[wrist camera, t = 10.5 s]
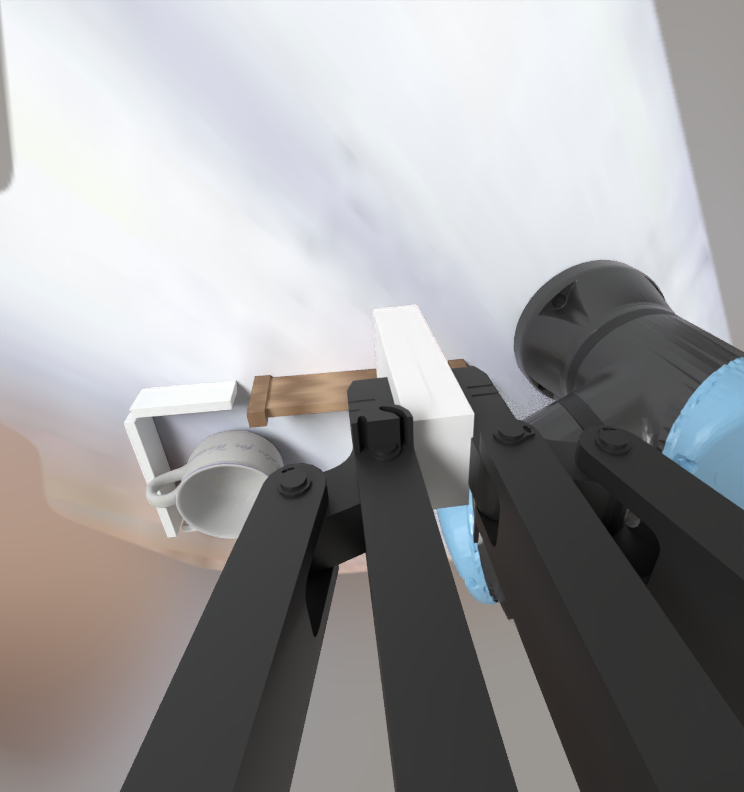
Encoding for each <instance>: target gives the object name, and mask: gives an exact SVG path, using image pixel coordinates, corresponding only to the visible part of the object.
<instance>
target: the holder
mask: <svg viewBox="0 0 744 792" xmlns="http://www.w3.org/2000/svg"><path fill="white" fill-rule="evenodd" d="M237 390H238V387H237V383H236V381H225V382H213V383H201V384H189V385H177V386H165V387H154V388H142V390H141V392H140V393H139V395H138V396H137V398H136V400H135V401H134V403H133V404H132V406H131V408H130V409H129V410H130V414H129V415H128V417H127V419H126V420H125V422H124V426H125V428H126V431H127V433H128V436H129V439H130V441H131V444H132V446H133V449H134V452H135V454H136V457H137V459H138V462H139V464H140V467H141V470H142V472H143V475H144V477H145V480H146V483H147V485H148V484H149V483H150V482H151V481H152V480H153V479H154V478H156V477H157V476H159V475H161V474H164V473H166V472H169V471H171V470H170V467H169V464H168V461H167V458H166V455H165V452H164V449H163V447H162V444H161V441H160V438H159V435H158V432H157V429H156V426H155V423H154V420H153V418H152V416H163V415H174V414H186V413H197V412H208V411H220V410H231V409H232V408H233V404H234V401H235V397H236V394H237ZM176 488H177V487H176V484H175V482H173V483H171V484H168V485H166V486H164V487H163V488H161V489H160V490H159V491H158V492H157V494H158V495H165V494H169V493H171V492H172V491H174V490H175V489H176ZM156 508H157V507H156ZM157 511H158V514H159V516H160V519H161V521H162V524H163V526H164V529H165V532H166V534H167V537H176V536H177V534H178V531H179V528H180V524H181V521H182V518H183V517H182V516H181V515H180V513H179V512H178V509H177V506H176V504H175V505H173V506H170V507H166V508H157ZM182 528H183V531H184V532H191V531H198V530H196V529H194V528H193V527H191V526H190V525H189V524H187V523H186V521H185V520H184V521H183V524H182Z"/></svg>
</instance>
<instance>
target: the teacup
mask: <svg viewBox="0 0 744 792" xmlns="http://www.w3.org/2000/svg"><path fill="white" fill-rule="evenodd" d="M281 467H284V464H283V461H282V458H281V455H280V453H279V452H278V450H277V449H276V448H275V446H274V445H273V444H272V443H271V442H269V441H268V440H267V439H265V438H263V437H262V436H260V435H257V434H254V433H251V432H247V431H240V430H231V431H223V432H219V433H216V434H214V435H211V436H209V437H208V438H206V439H204V440H203V441H202V442H201V443H200V444H199V445H198V446H197V447H196V448H195V449H194V451H193V452H192V454H191V456H190V458H189V460H188V462H187V464H186V465H184V466H183V467H181V468H178V469H175V470H172V471H169V472H166V473H164V474H161V475H159V476H157V477H156V478H154V479H153V480H152V481H151V482H150V483H149V484H148V486H147V488H146V498H147V500H148V502H149V504H150V505H152V506H154V507H157V508H166V507H170V506H173V505H175V504H176V506H177V509H178V512H179V513H180V515H181V516H182V517H183V519H184V520H185V521H186V523H187V524H189V525H190V526H191V527H193V528H194V529H196V530H198V531H200V532H202V533H205V534H207V535H210V536H214V537H219V538H226V539H238V537H239V534H240V532H241V530H242V528H243V526H244V524H245V521H246V519H247V517H248V515H249V513H250V511H251V509H252V506H253V504H254V502H255V500H256V498H257V496H258V494H259V491H260V489H261V487H262V485H263V483H264V482H265V480H266V479H267V478H268V476H269V475H270V474H271V473H273V472H274V471H276V470H277V469H279V468H281ZM179 480H182V481H181V483H180V485H179V486H178V487H177V488H176V489H175V490H174V491H172V492H171V493H169V494H165V495H158V494H157V492H158V491H159V490H160V489H161V488H163V487H164V486H166V485H168V484H171V483H173V482H176V481H179Z"/></svg>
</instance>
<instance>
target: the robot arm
mask: <svg viewBox="0 0 744 792" xmlns="http://www.w3.org/2000/svg"><path fill="white" fill-rule="evenodd" d="M372 311H373V325H374V340H375V355H376V369H377V378H373V379H364V380H355V381H352V383H351V385H350V386H349V388H348V390H347V398H348V407H349V417H350V426H351V435H352V443H353V451H352V453H351V455H350V456H349V457H348V459H347V460H346V461H345V462H343V463H342V464H341V465H339V466H337V467H335V468H333V469H331V470H328V471H325V472H322V471H321V470H320V469H319V468H317V467H315V466H313V465H309V464H304V463H300V464H290V465H287V466H284V467H281V468H279V469H277V470H276V471H274V472H273V473H271V474H270V475H269V476H268V478H267V479H266V480H265V482H264V483H263V485H262V487H261V489H260V491H259V494H258V496H257V498H256V500H255V502H254V504H253V506H252V509H251V511H250V513H249V515H248V517H247V519H246V521H245V524H244V526H243V528H242V530H241V532H240V534H239V537H238V539H237V541H236V543H235V545H234V547H233V549H232V552H231V554H230V556H229V558H228V560H227V562H226V564H225V567H224V569H223V571H222V573H221V575H220V577H219V580H218V582H217V584H216V586H215V588H214V590H213V592H212V595H211V597H210V599H209V601H208V604H207V605H206V608H205V610H204V612H203V614H202V616H201V618H200V620H199V623H198V625H197V627H196V629H195V631H194V633H193V636H192V638H191V640H190V642H189V644H188V646H187V648H186V651H185V653H184V655H183V657H182V659H181V661H180V663H179V666H178V668H177V670H176V672H175V674H174V676H173V678H172V681H171V683H170V685H169V687H168V689H167V691H166V694H165V696H164V698H163V700H162V702H161V704H160V706H159V709H158V711H157V713H156V715H155V717H154V719H153V721H152V724H151V726H150V728H149V730H148V732H147V735H146V737H145V739H144V741H143V743H142V745H141V747H140V749H139V752H138V754H137V756H136V758H135V760H134V763H133V765H132V767H131V769H130V771H129V773H128V775H127V777H126V780H125V782H124V784H123V786H122V788H121V790H120V792H289V791H290V787H291V782H292V778H293V773H294V769H295V764H296V760H297V755H298V751H299V746H300V742H301V737H302V733H303V728H304V724H305V719H306V714H307V710H308V706H309V701H310V697H311V691H312V687H313V683H314V679H315V674H316V669H317V665H318V660H319V656H320V651H321V647H322V642H323V638H324V633H325V629H326V624H327V620H328V615H329V611H330V606H331V602H332V597H333V593H334V588H335V584H336V579H337V575H338V570H339V564H341V563H343V562H345V561H347V560H350V559H352V558H354V557H356V556H359V555H361V554H363V553H366V560H367V569H368V577H369V585H370V593H371V601H372V609H373V617H374V625H375V633H376V641H377V650H378V658H379V666H380V674H381V682H382V690H383V698H384V707H385V715H386V723H387V731H388V739H389V747H390V755H391V763H392V772H393V780H394V787H395V792H518V790H517V787H516V783H515V780H514V777H513V773H512V770H511V767H510V763H509V760H508V757H507V754H506V750H505V747H504V744H503V740H502V737H501V734H500V730H499V727H498V724H497V721H496V717H495V714H494V711H493V707H492V704H491V701H490V697H489V694H488V691H487V688H486V684H485V681H484V677H483V674H482V671H481V668H480V665H479V661H478V658H477V654H476V651H475V648H474V645H473V641H472V638H471V634H470V631H469V628H468V625H467V621H466V618H465V615H464V611H463V608H462V605H461V602H460V598H459V595H458V592H457V588H456V585H455V582H454V578H453V575H452V572H451V569H450V565H449V562H448V558H447V555H446V552H445V549H444V545H443V542H442V539H441V535H440V532H439V529H438V525H437V522H436V519H435V515H434V512H433V509H437V514H438V518H439V522H440V526H441V529H442V533H443V536H444V539H445V542H446V544H447V547H448V550H449V552H450V555H451V557H452V560H453V562H454V564H455V567H456V569H457V571H458V573H459V574H460V576H461V577H462V578H463V579H464V581H465V583H466V586H467V589H468V590H469V592H470V593H471V595H472V596H473V597H474V598H475V599H476V600H477V601H479V602H480V603H482V604H492V605H493V604H495V603H497V602H498V601H499V602H500V604H501V606H502V608H503V610H504V612H505V614H506V616H507V618H508V620H509V622H510V624H513V625H514V626H516V627H517V630H518V632H519V635H520V637H521V640H522V643H523V645H524V648H525V650H526V653H527V655H528V658H529V660H530V663H531V666H532V668H533V671H534V673H535V676H536V679H537V681H538V684H539V686H540V689H541V691H542V694H543V696H544V699H545V702H546V704H547V707H548V709H549V712H550V714H551V717H552V720H553V722H554V725H555V728H556V730H557V733H558V735H559V738H560V740H561V743H562V746H563V748H564V751H565V753H566V755H567V758H568V761H569V764H570V766H571V769H572V771H573V774H574V776H575V779H576V782H577V784H578V787H579V789H580V792H744V352H743V351H741V350H739V349H737V348H735V347H734V346H732V345H730V344H728V343H726V342H725V341H723V340H721V339H719V338H717V337H715V336H714V335H712V334H710V333H708V332H706V331H705V330H703V329H701V328H699V327H697V326H695V325H694V324H692V323H690V322H688V321H686V320H684V319H683V318H681V317H679V316H677V315H676V314H675V313H674V312H673V311H672V309H671V308H670V307H669V305H668V304H667V303H666V301H665V299H664V296H663V294H662V292H661V291H660V289H659V287H658V286H657V285H656V283H655V282H654V281H653V280H652V279H650V278H649V277H648V276H647V275H645V274H644V273H642V272H640V271H639V270H637V269H635V268H633V267H631V266H629V265H626V264H624V263H621V262H617V261H610V260H597V261H590V262H585V263H582V264H579V265H576V266H573V267H571V268H569V269H567V270H565V271H563V272H561V273H559V274H558V275H556V276H555V277H553V278H552V279H551V280H549V281H548V282H547V283H546V284H544V285H543V286H542V287H541V288H540V289H539V290H538V291H537V292H536V293H535V295H534V296H533V297H532V298H531V300H530V301H529V302H528V304H527V305H526V307H525V309H524V311H523V312H522V314H521V317H520V319H519V321H518V324H517V327H516V331H515V337H514V352H515V358H516V361H517V364H518V366H519V368H520V370H521V372H522V373H523V374H524V376H525V377H526V378H527V379H528V381H529V382H530V383H531V384H532V385H533V386H534V387H535V388H536V389H537V390H538V391H540V392H541V393H542V394H544V395H546V396H548V397H550V398H552V399H554V400H557V401H555V402H553V403H552V404H550V405H548V406H546V407H545V408H543V409H541V410H539V411H537V412H536V413H534V414H532V415H530V416H528V417H527V418H525V419H523V420H517V419H516V418H515V417H514V415H513V414H512V412H511V411H510V409H509V408H508V406H507V405H506V403H505V401H504V400H503V398H502V397H501V395H500V394H498V391H497V389H496V388H495V386H493V383H492V381H491V380H490V378H489V377H488V375H487V374H486V373H484V372H483V371H481V370H479V369H478V368H476V367H475V366H470V367H461V368H452V369H450V367H449V365H448V363H447V361H446V359H445V357H444V355H443V353H442V351H441V350H440V348H439V346H438V344H437V342H436V340H435V338H434V336H433V334H432V332H431V331H430V329H429V327H428V325H427V323H426V321H425V319H424V317H423V315H422V313H421V312H420V310H419V308H418V306H417V305H407V306H398V307H388V308H378V309H372Z"/></svg>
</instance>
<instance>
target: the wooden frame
mask: <svg viewBox="0 0 744 792" xmlns="http://www.w3.org/2000/svg"><path fill="white" fill-rule="evenodd" d="M448 365H449V367H450V369H452V368H461V367H467V365H466V363H465V362H464V360H463V359H457V360H448ZM373 378H377V369H367V370H356V371H344V372H332V373H320V374H308V375H296V376H284V377H272V378H271V376H270V375H266V376H255V378H254V383H253V387H252V392H251V396H250V400H249V405H248V409H247V418H248V422H249V427H250V428H251V427H262V426H267V422H268V417H278V416H289V415H300V414H311V413H322V412H333V411H344V410H349V407H348V398H347V390H348V388H349V386H350V385H351V383H352V381H355V380H364V379H373Z"/></svg>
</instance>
